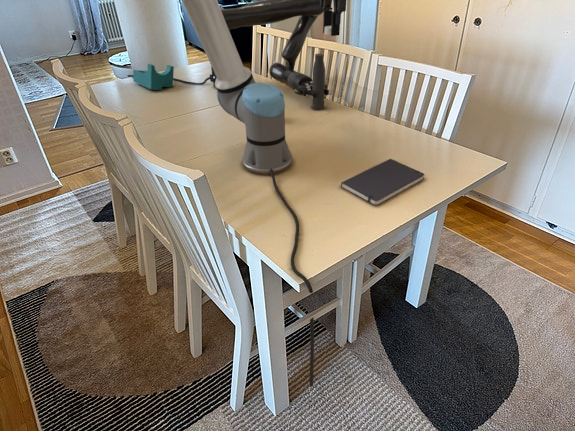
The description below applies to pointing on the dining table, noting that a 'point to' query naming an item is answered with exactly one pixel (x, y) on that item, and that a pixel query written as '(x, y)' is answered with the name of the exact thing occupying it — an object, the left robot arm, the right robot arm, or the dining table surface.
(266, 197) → the dining table surface
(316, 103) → the bottle
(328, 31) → the cap
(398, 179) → the notebook
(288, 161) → the right robot arm
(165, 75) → the teal notched cradle block
